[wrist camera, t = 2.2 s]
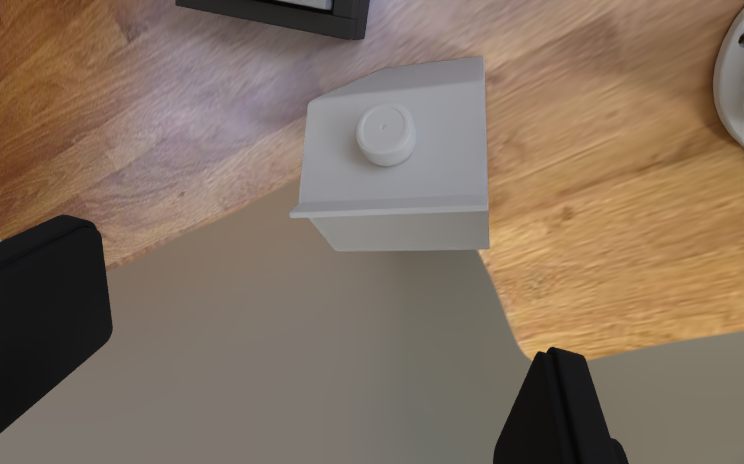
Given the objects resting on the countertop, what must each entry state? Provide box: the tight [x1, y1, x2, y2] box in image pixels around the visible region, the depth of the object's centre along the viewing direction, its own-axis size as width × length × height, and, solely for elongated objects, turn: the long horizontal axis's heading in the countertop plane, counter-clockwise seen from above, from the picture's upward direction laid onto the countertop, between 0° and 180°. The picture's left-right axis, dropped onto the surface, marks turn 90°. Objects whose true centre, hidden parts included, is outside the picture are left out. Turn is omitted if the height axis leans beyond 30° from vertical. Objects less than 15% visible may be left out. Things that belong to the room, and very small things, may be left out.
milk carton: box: [288, 56, 489, 252], centre depth 24 cm, size 7×7×19 cm
